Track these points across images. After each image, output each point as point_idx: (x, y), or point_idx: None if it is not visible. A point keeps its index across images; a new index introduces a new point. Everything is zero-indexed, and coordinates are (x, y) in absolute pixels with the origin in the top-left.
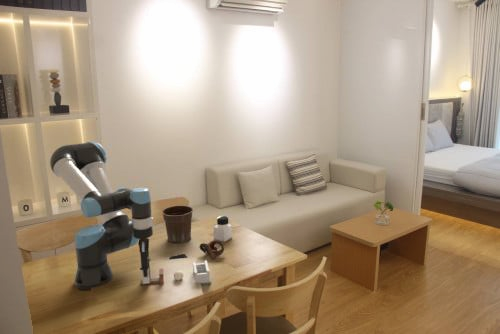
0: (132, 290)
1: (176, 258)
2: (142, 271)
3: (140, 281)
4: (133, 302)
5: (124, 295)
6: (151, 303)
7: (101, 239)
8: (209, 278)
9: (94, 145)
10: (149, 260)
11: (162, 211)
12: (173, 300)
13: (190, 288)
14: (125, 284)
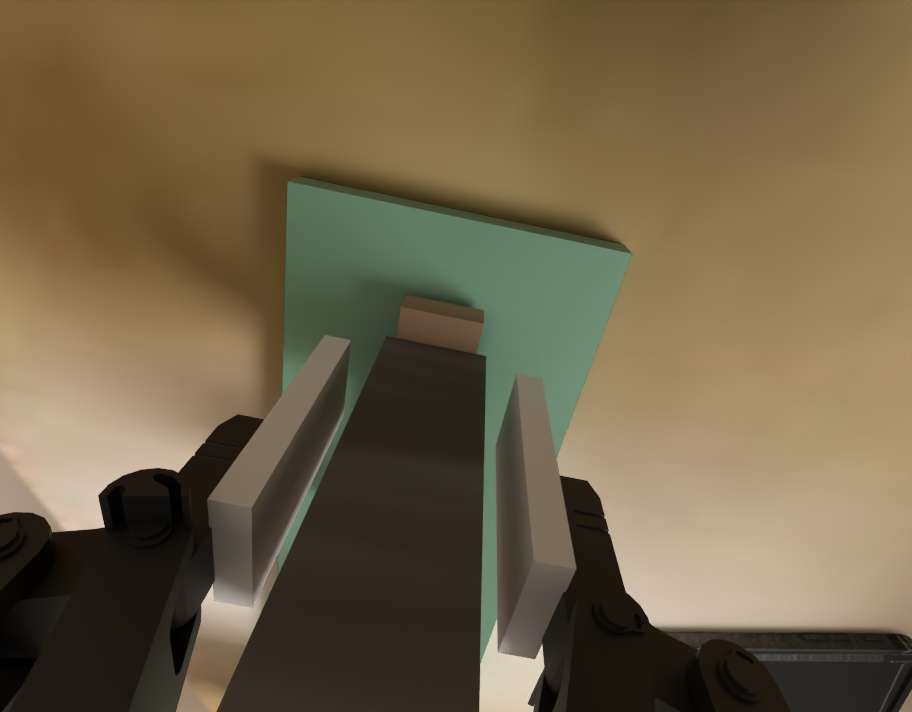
0: (385, 170)
1: (840, 682)
2: (238, 466)
3: (438, 314)
4: (73, 140)
5: (278, 33)
6: (42, 327)
7: None
8: None
9: None
10: (536, 686)
11: None
12: (86, 494)
13: (256, 622)
14: (610, 89)
